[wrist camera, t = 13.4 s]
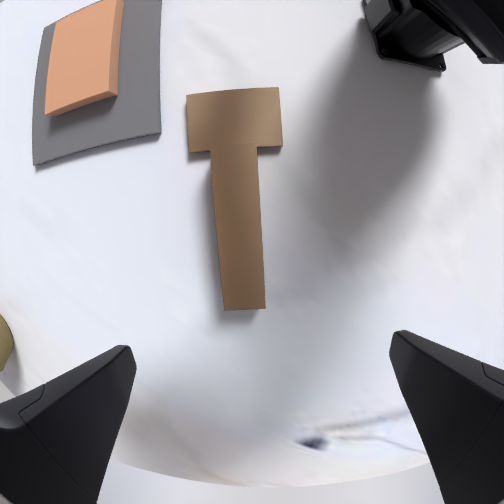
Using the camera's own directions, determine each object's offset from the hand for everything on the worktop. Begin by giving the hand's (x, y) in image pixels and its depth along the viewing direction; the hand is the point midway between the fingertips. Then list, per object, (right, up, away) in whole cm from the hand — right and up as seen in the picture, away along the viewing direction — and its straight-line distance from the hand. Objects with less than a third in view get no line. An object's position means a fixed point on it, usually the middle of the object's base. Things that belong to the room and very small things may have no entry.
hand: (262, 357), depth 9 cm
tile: (-13, +14, +7) cm, 20 cm away
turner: (-1, +7, +10) cm, 13 cm away
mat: (-13, +18, +7) cm, 23 cm away
